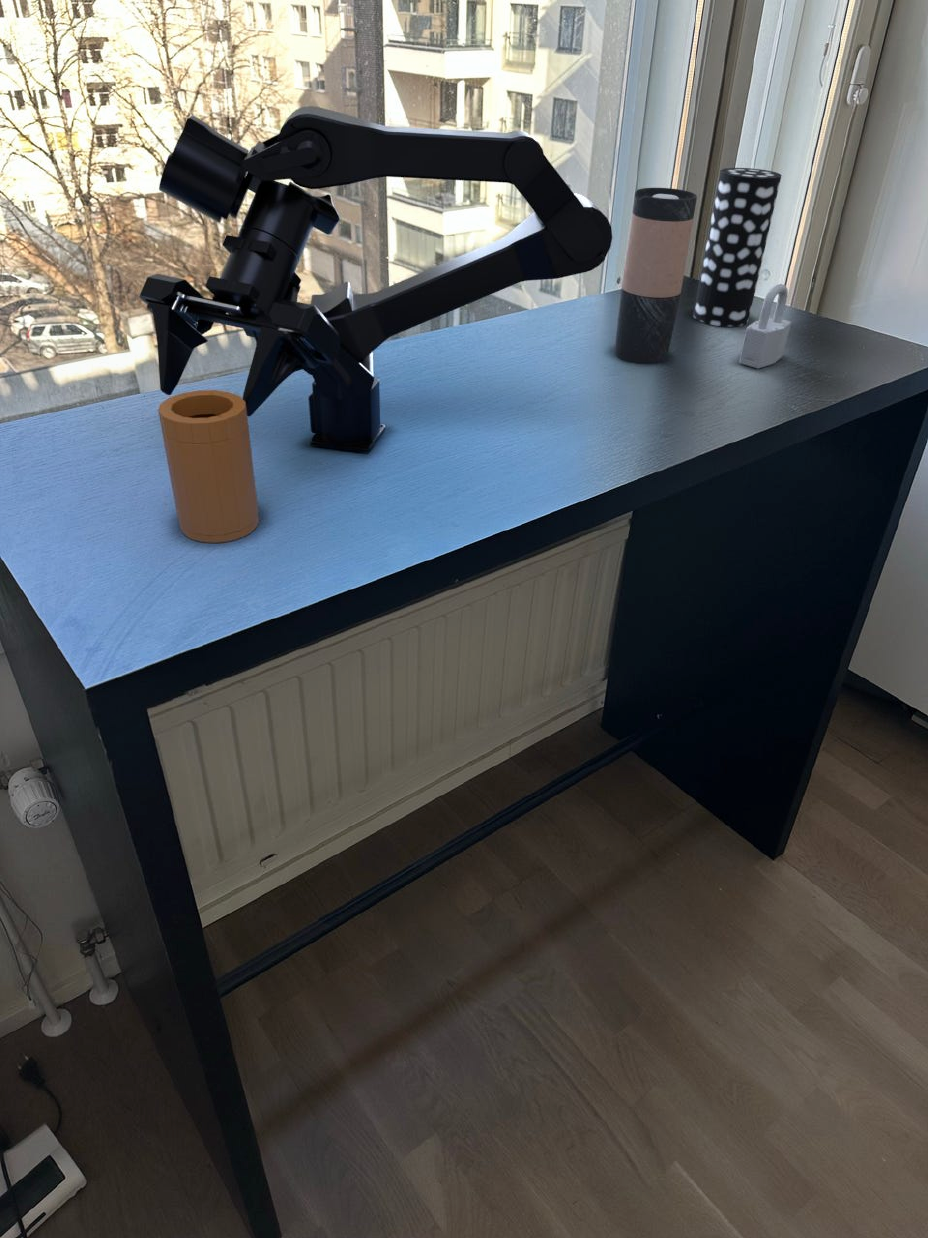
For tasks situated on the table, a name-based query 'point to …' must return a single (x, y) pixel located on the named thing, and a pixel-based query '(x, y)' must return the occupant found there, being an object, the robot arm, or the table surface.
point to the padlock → (767, 332)
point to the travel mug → (653, 273)
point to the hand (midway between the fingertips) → (204, 403)
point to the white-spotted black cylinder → (735, 245)
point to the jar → (210, 464)
